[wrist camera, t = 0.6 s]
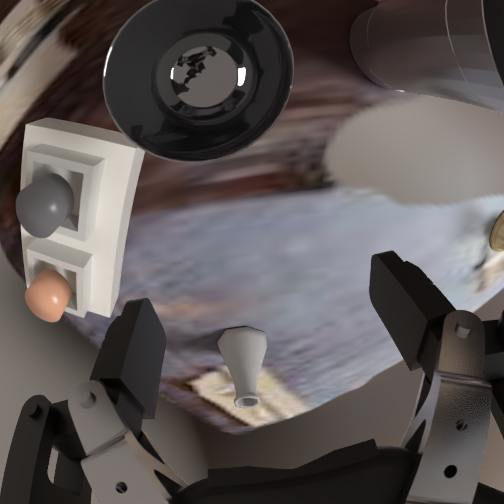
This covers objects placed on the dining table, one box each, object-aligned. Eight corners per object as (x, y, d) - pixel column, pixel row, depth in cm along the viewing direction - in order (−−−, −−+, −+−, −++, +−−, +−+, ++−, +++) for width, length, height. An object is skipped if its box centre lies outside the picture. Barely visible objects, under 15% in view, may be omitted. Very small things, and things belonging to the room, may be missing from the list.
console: (47, 117, 21) (10, 129, 16) (148, 139, 24) (126, 155, 19) (40, 269, 31) (18, 300, 25) (118, 295, 34) (104, 333, 28)
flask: (214, 355, 41) (214, 414, 33) (219, 323, 38) (220, 386, 29) (261, 358, 42) (269, 415, 34) (272, 327, 39) (284, 388, 30)
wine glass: (242, 132, 25) (258, 184, 12) (159, 112, 23) (86, 144, 11) (269, 55, 21) (320, 19, 9) (184, 33, 19) (135, -23, 7)
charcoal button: (35, 168, 18) (15, 180, 15) (76, 179, 19) (59, 193, 17) (33, 214, 20) (16, 230, 18) (72, 226, 21) (57, 244, 19)
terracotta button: (36, 263, 23) (22, 281, 20) (71, 276, 24) (59, 296, 21) (39, 295, 25) (28, 313, 22) (72, 307, 26) (62, 327, 23)
